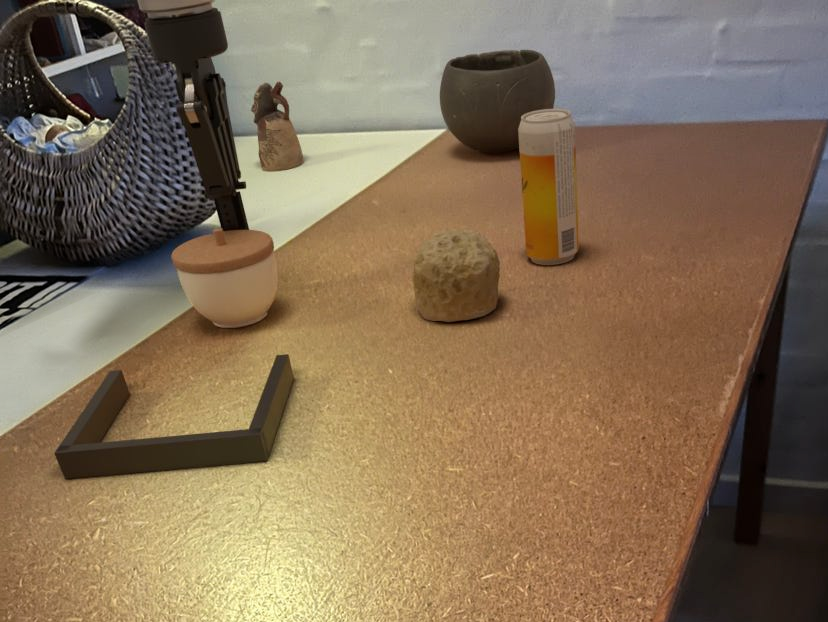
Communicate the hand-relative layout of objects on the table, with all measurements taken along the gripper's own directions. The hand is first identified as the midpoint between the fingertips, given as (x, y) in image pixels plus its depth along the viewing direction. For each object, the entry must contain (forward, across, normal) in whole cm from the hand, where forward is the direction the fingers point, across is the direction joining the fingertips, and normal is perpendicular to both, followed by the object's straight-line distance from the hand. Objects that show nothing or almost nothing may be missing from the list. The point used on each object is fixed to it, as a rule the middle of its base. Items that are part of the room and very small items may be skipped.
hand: (241, 254), depth 111 cm
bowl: (+5, +56, -31) cm, 64 cm away
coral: (+5, -11, -24) cm, 27 cm away
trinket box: (+5, -7, 0) cm, 8 cm away
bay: (+4, -32, 0) cm, 33 cm away
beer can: (+5, +2, -35) cm, 36 cm away
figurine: (+5, +60, +5) cm, 61 cm away
